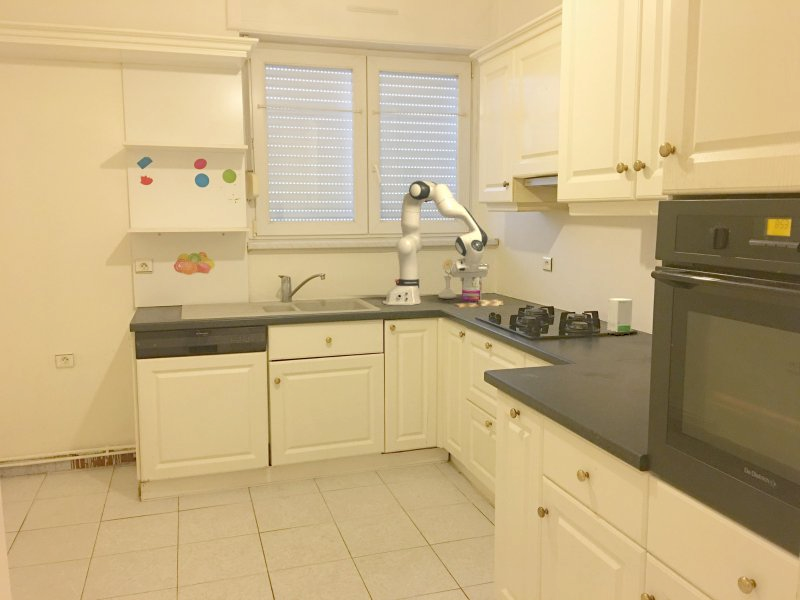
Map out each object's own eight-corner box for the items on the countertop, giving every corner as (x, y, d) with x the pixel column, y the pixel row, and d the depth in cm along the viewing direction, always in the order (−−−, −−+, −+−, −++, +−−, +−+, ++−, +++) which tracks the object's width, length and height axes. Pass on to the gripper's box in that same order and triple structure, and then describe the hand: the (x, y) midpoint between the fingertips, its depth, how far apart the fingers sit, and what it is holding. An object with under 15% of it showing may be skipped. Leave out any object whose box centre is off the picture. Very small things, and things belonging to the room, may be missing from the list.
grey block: (463, 288, 377) (463, 274, 376) (462, 287, 379) (462, 273, 378) (472, 288, 377) (472, 274, 376) (471, 287, 380) (471, 273, 379)
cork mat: (459, 307, 373) (459, 306, 373) (454, 304, 385) (454, 303, 384) (479, 306, 374) (479, 306, 374) (474, 304, 386) (474, 303, 386)
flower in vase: (435, 298, 414) (436, 257, 411) (452, 297, 417) (453, 257, 414) (443, 300, 401) (443, 259, 398) (460, 299, 405) (461, 258, 402)
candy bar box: (481, 300, 401) (482, 273, 399) (480, 301, 396) (480, 274, 394) (463, 300, 404) (463, 273, 402) (461, 301, 400) (462, 273, 397)
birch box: (480, 305, 378) (480, 301, 378) (477, 304, 385) (477, 300, 385) (502, 305, 380) (503, 301, 380) (499, 303, 387) (499, 299, 387)
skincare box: (616, 336, 285) (617, 300, 283) (605, 333, 291) (607, 298, 289) (631, 335, 288) (633, 299, 286) (620, 332, 294) (622, 297, 292)
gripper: (488, 259, 371) (483, 275, 382) (452, 260, 368) (448, 276, 379) (491, 268, 367) (485, 284, 378) (454, 268, 364) (450, 284, 375)
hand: (467, 280), depth 378 cm, fingers closed on grey block, 5 cm apart
